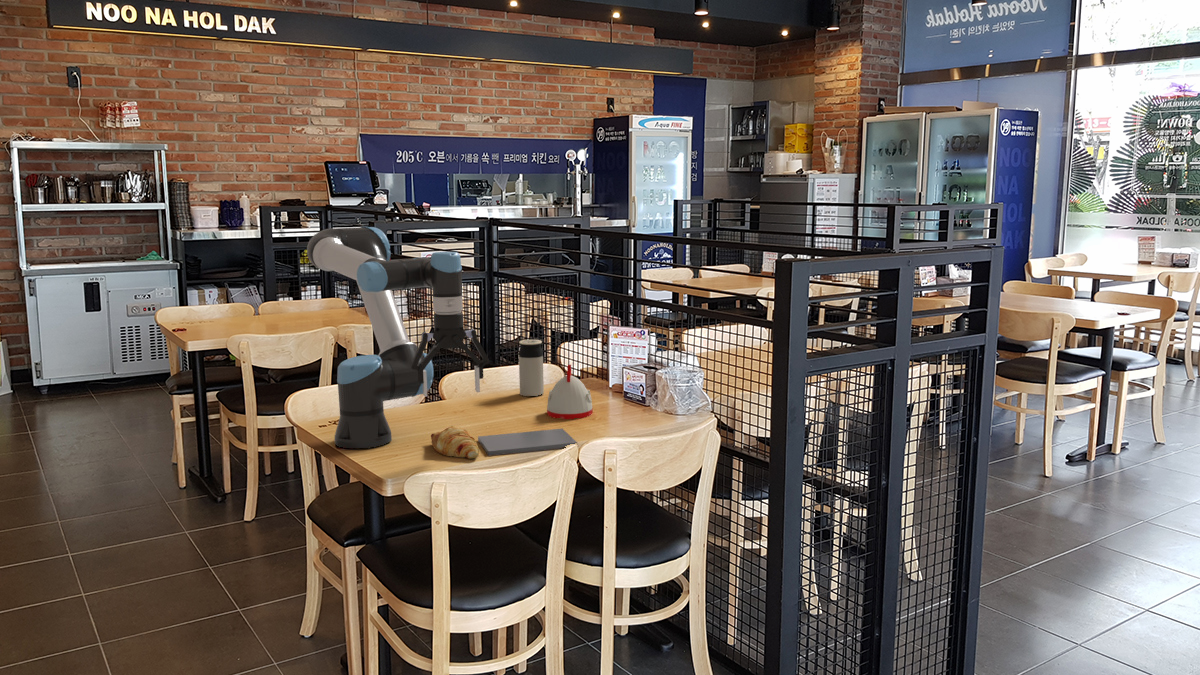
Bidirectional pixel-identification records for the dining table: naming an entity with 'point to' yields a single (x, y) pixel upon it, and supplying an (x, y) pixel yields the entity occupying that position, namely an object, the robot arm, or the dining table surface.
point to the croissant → (455, 443)
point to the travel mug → (531, 368)
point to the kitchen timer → (569, 398)
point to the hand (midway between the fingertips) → (451, 393)
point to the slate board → (525, 441)
